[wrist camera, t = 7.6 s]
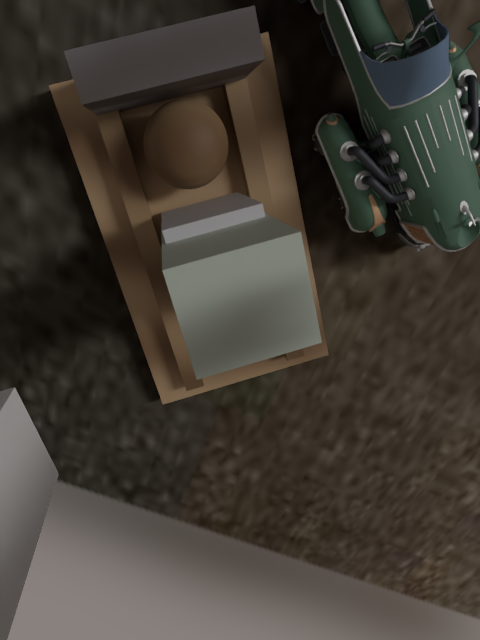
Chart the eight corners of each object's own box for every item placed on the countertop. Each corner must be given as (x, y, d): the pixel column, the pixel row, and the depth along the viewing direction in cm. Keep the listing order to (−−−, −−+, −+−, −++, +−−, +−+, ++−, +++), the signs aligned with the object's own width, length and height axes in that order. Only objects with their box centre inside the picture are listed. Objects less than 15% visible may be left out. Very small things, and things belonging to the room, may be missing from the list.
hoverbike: (361, 273, 31) (426, 311, 24) (165, -146, 22) (168, -308, 14) (480, 202, 31) (585, 216, 23) (333, -254, 22) (427, -477, 14)
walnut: (133, 114, 24) (128, 106, 20) (211, 95, 25) (221, 82, 21) (158, 195, 26) (158, 202, 22) (230, 176, 26) (243, 179, 22)
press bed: (53, 88, 24) (14, 62, 18) (263, 37, 25) (300, -6, 19) (162, 395, 32) (163, 459, 25) (322, 348, 33) (364, 396, 26)
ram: (158, 212, 26) (156, 253, 15) (239, 191, 27) (297, 214, 15) (182, 292, 28) (196, 379, 17) (258, 270, 28) (321, 342, 17)
